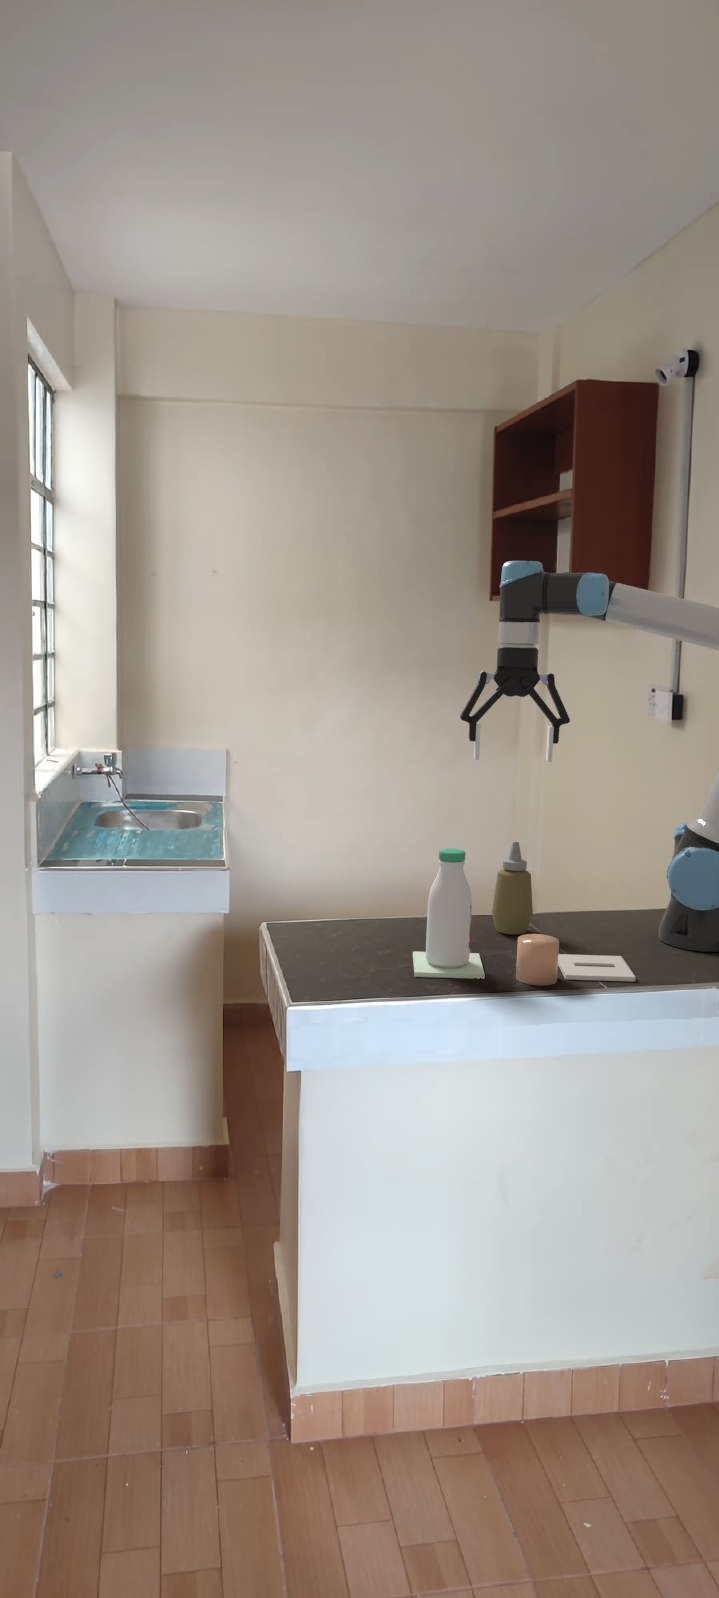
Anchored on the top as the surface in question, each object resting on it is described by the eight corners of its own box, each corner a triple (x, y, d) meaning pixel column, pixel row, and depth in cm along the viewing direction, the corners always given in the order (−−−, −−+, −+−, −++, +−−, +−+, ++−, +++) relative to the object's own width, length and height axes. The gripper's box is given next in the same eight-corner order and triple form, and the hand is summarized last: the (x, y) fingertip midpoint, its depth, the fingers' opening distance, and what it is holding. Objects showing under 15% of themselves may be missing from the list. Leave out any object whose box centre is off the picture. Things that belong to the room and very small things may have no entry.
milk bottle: (466, 969, 196) (472, 856, 193) (422, 965, 197) (427, 853, 194) (471, 956, 203) (476, 847, 200) (428, 953, 205) (433, 844, 202)
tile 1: (478, 957, 206) (478, 952, 206) (484, 978, 195) (484, 973, 194) (412, 955, 207) (412, 950, 206) (414, 976, 195) (414, 971, 195)
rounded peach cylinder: (553, 973, 199) (555, 934, 198) (559, 986, 192) (562, 946, 191) (513, 971, 199) (515, 933, 198) (518, 984, 192) (520, 945, 191)
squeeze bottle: (508, 923, 230) (513, 836, 227) (540, 932, 224) (545, 843, 221) (482, 930, 224) (486, 841, 221) (514, 939, 218) (518, 848, 215)
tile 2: (620, 960, 207) (621, 955, 207) (635, 981, 195) (635, 976, 195) (554, 958, 207) (555, 953, 207) (565, 979, 195) (565, 973, 195)
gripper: (582, 647, 213) (575, 759, 217) (449, 643, 214) (445, 755, 217) (589, 648, 206) (582, 764, 210) (451, 644, 206) (447, 760, 210)
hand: (512, 760), depth 213 cm, fingers open, 13 cm apart
